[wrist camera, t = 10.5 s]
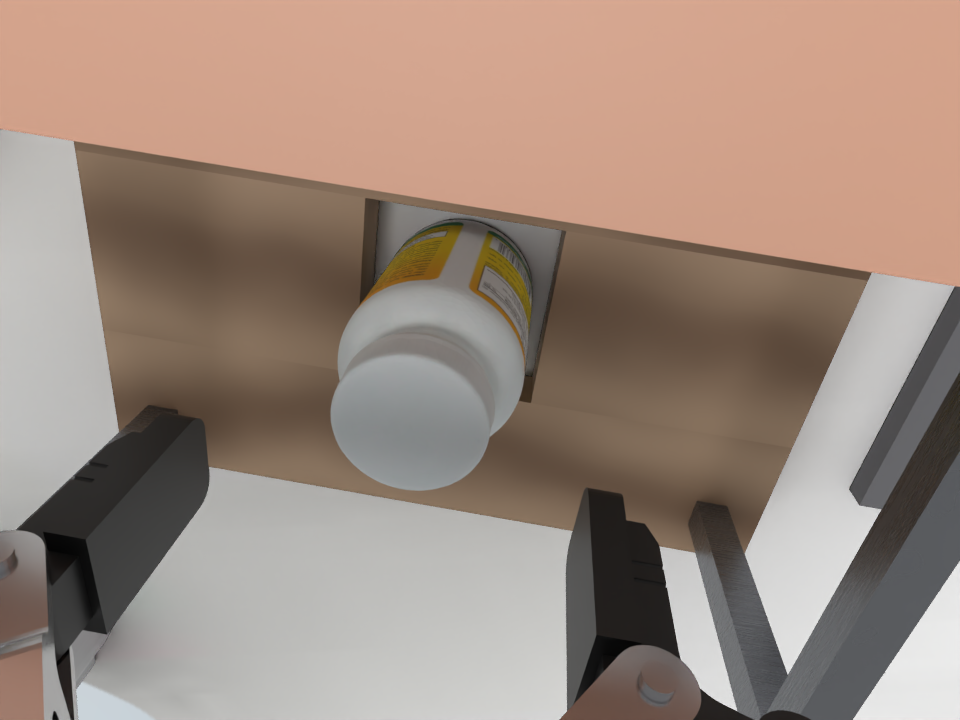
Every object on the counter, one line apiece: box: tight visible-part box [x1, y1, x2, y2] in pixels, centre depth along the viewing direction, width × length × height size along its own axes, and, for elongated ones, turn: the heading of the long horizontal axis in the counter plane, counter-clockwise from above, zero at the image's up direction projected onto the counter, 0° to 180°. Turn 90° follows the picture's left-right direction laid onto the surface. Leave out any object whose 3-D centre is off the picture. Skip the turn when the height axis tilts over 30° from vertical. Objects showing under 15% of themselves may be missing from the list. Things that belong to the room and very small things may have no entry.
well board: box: [74, 141, 872, 553], centre depth 21 cm, size 28×26×2 cm
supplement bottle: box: [331, 220, 533, 491], centre depth 20 cm, size 5×5×10 cm
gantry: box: [16, 372, 960, 720], centre depth 16 cm, size 25×23×10 cm
